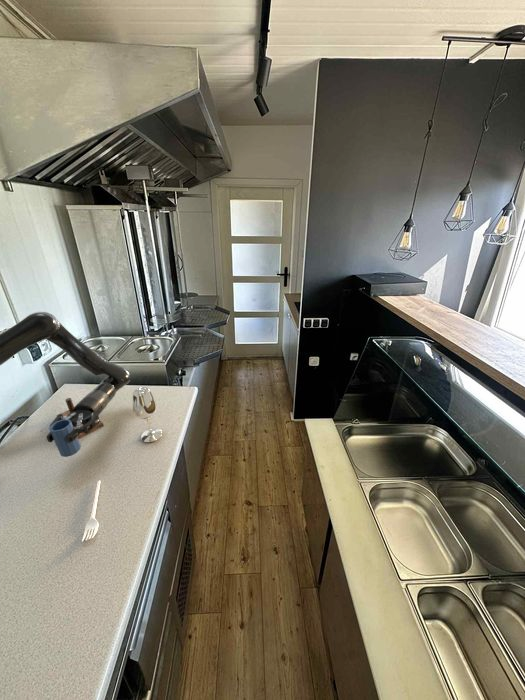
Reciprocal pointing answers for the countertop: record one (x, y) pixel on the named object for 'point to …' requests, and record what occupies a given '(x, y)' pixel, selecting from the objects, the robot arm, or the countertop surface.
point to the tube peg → (64, 437)
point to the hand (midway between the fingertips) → (58, 440)
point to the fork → (92, 517)
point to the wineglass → (145, 412)
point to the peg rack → (71, 407)
